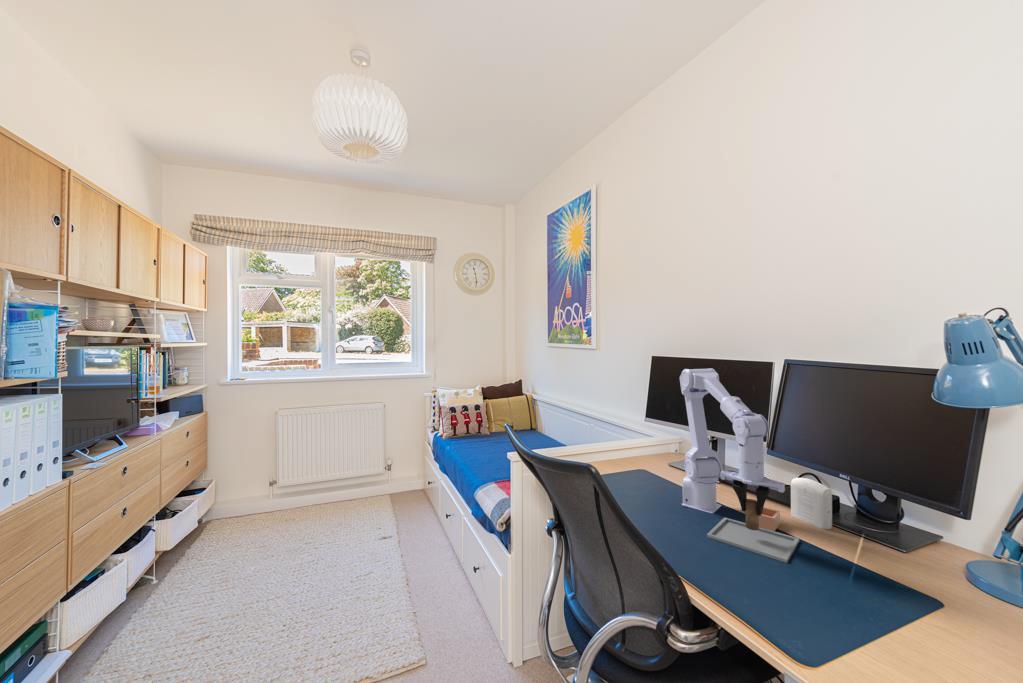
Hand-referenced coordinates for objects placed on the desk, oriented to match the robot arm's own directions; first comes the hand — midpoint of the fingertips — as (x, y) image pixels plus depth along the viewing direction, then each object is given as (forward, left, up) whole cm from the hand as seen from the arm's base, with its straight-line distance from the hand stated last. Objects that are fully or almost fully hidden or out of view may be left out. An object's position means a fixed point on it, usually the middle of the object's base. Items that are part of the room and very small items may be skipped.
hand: (751, 512), depth 105 cm
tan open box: (0, +12, -8) cm, 14 cm away
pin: (0, 0, -4) cm, 4 cm away
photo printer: (+9, +23, -8) cm, 26 cm away
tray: (0, 0, -8) cm, 8 cm away
